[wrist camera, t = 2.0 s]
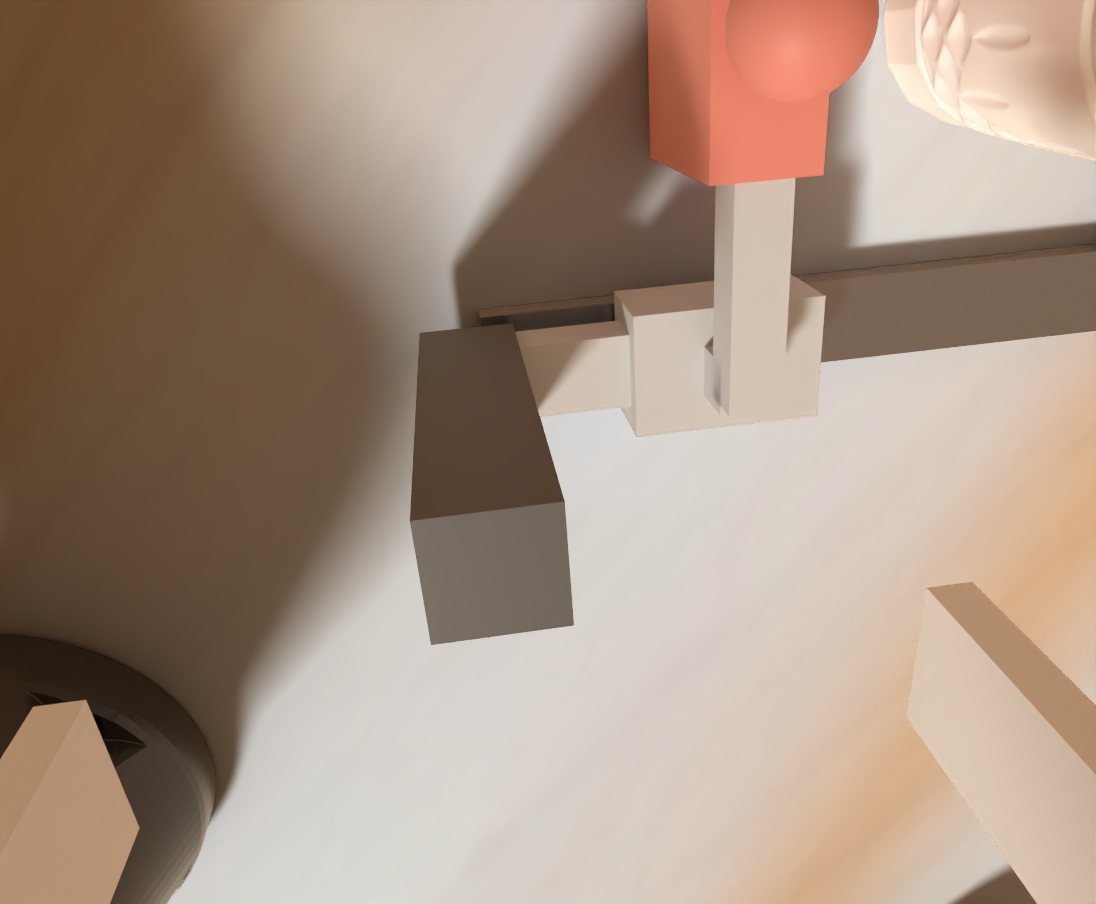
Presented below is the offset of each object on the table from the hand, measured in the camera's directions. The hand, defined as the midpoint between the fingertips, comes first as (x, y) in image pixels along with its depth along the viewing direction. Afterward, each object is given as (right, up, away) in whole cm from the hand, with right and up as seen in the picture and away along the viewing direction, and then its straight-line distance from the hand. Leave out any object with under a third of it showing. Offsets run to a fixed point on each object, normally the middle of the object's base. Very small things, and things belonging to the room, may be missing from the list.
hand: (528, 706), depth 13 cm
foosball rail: (+13, +9, +17) cm, 23 cm away
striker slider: (+2, +13, +14) cm, 19 cm away
